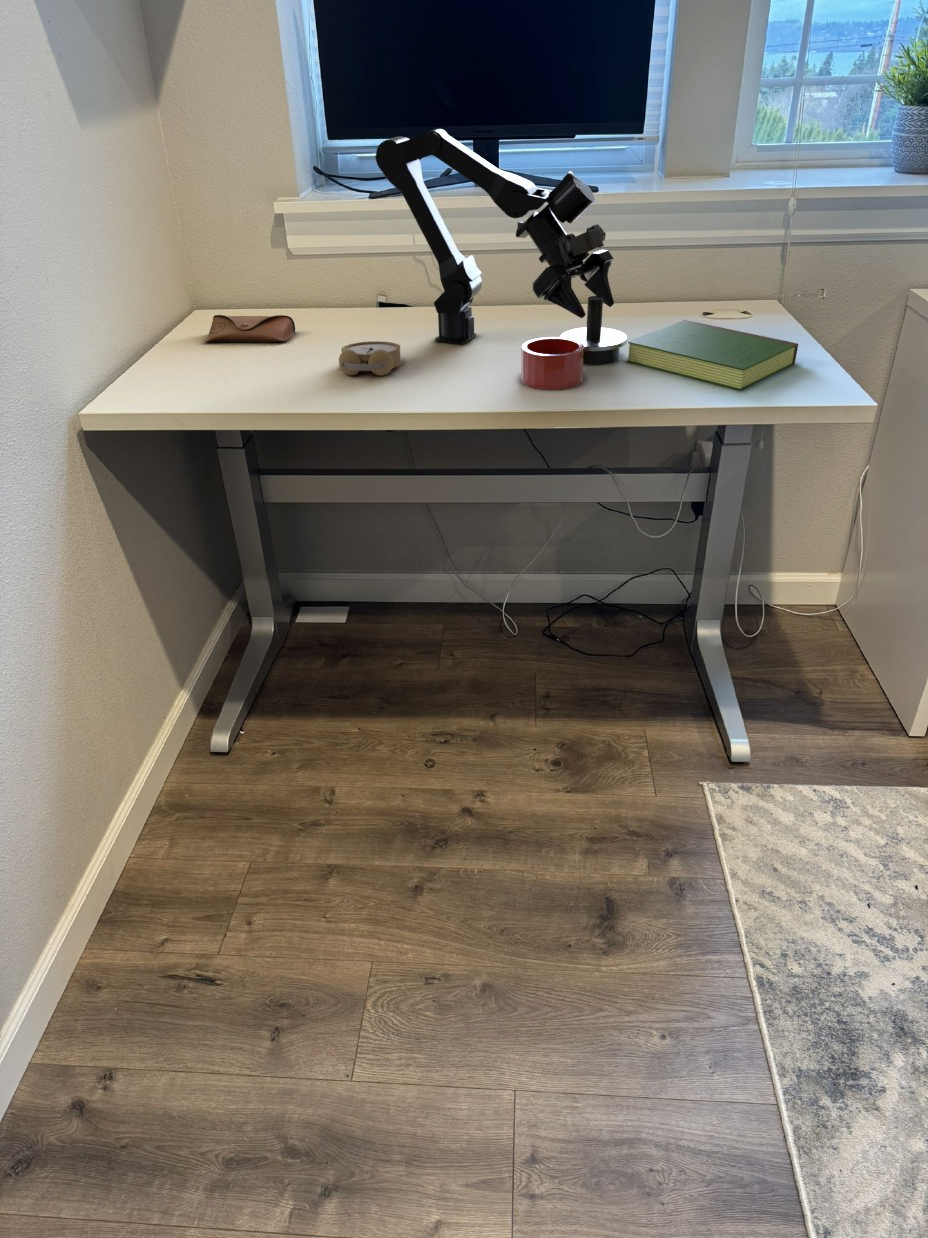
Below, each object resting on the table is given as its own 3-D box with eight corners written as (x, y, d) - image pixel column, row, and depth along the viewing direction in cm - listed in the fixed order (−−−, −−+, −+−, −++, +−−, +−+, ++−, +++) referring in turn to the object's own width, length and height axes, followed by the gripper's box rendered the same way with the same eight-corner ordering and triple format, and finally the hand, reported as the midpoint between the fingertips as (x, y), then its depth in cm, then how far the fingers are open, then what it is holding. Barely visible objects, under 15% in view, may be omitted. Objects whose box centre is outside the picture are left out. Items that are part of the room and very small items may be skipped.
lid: (549, 346, 165) (550, 302, 160) (574, 328, 174) (576, 286, 169) (613, 354, 159) (616, 309, 155) (635, 335, 168) (639, 292, 164)
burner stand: (558, 361, 167) (558, 345, 165) (577, 346, 174) (578, 330, 172) (607, 367, 163) (608, 351, 161) (625, 352, 170) (627, 336, 168)
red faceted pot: (511, 384, 156) (511, 351, 153) (536, 366, 164) (537, 334, 161) (568, 393, 152) (569, 359, 149) (591, 373, 160) (593, 341, 157)
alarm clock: (405, 341, 170) (390, 350, 157) (406, 367, 172) (391, 378, 159) (349, 340, 171) (329, 350, 158) (350, 366, 174) (331, 378, 160)
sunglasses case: (202, 341, 182) (202, 309, 182) (214, 349, 189) (214, 318, 189) (286, 341, 181) (286, 308, 180) (295, 349, 188) (296, 318, 187)
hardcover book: (794, 363, 161) (798, 343, 159) (740, 390, 150) (743, 369, 148) (679, 337, 176) (681, 319, 174) (623, 360, 165) (624, 340, 163)
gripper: (546, 219, 151) (596, 294, 151) (607, 202, 162) (654, 272, 162) (511, 261, 160) (558, 332, 160) (571, 243, 171) (615, 309, 171)
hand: (598, 310), depth 163 cm, fingers open, 9 cm apart
